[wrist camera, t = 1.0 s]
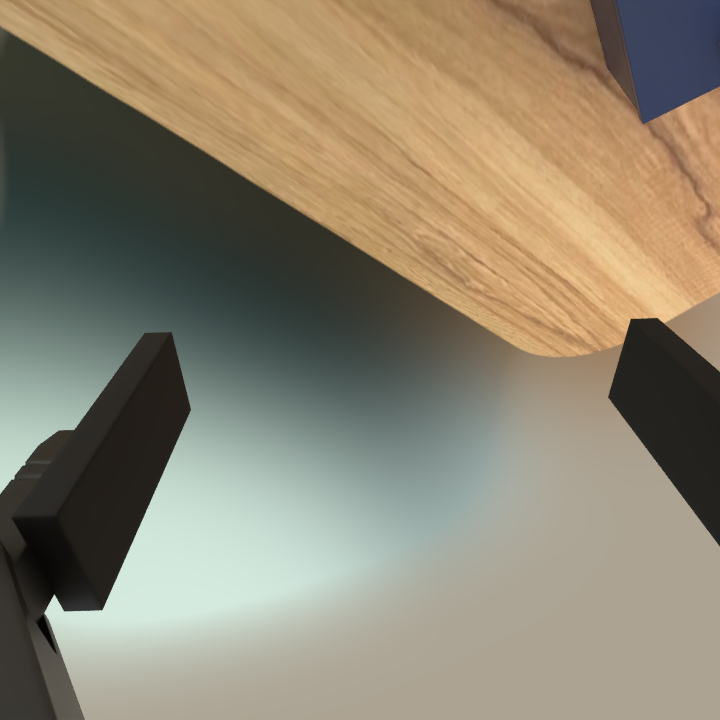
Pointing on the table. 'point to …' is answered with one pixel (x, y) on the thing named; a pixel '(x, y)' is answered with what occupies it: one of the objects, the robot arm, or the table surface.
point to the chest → (612, 44)
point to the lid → (669, 51)
